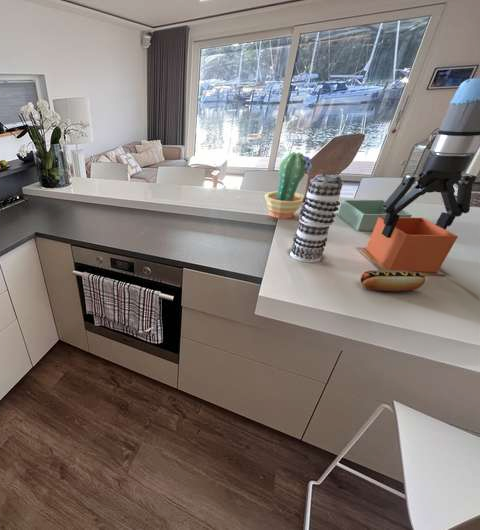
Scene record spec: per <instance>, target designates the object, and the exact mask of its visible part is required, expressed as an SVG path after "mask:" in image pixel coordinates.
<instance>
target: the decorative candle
mask: <svg viewBox="0 0 480 530" xmlns="http://www.w3.org/2000/svg"><path fill="white" fill-rule="evenodd" d="M309 182H310V183H309V187H308V190H307V192H306V194H303V195H304V198H303V200H302V202H304V203H303V204H302V205H301V206H300V211H299V214H301V215H299V218H298V221H299V225H298V228H297V231H296V232H295V234H294V237H293V242H292V244H291V248H290V253H289V255H290V257H291V258H293V259H294V260H296V261H298V262H299V261H300V262H304V263H312V264H313V263H318V262H320V261H321V260H322V257H323V254H324V252H325V247H326V245H327V242H328V233H329V229H330V227H331V226H332V225H333V223H334V222H335V219H334V218H335V217H336V214H335V213H334V212H338V211H339V207H338V206H341V201H339V200H340V197H341V191H342V189H343V185H345V184H346V183H345V181H343V180H342V177H341V176H339V175H337V174H331V173H322V174H317V175H316V176H314V177H313V178H312V179H310V180H309ZM305 199H306V200H305Z"/></svg>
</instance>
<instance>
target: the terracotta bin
mask: <svg viewBox="0 0 480 530" xmlns="http://www.w3.org/2000/svg"><path fill="white" fill-rule="evenodd" d="M384 220H385V217H379V218H378V220H377V223H376V225H375V227H374V230H373V231H371V232H372V233H371V235H370V237H369V240H368V242H367V244H366V248H365V249H366V251H367V252H368V253H369V254H370V255H372V256H373V257H374V258H375V259H376V260H377V261H378V262H379V263H381V264H382V265H383V266H384V267H385V268H386V269H387V270H408V271H414V272H419V273H437V272H438V270H439V271H440V269H441V267H442V265H443V264H444V262H445V260H446V258H447V257H448V255H449V253H450V252H451V250H452V248H453V246H454V244H455V243H456V241H457V239H458V237H459V236H458V235H457V234H455V233H452V232H450V231H449V230H447V229H446V230H445V229H443V228H441V227H439V226H438V225H436V223H434V222H432V221H430V220H428V219H426V218H425V217H411V218H405V217H399V219H398V221H397V223H396V226H395V228H394V230H393V232H392V234H391V236H390V238H387V237H385V236H384V235H383V234H382V231H383V229H384V227H385V224H384Z"/></svg>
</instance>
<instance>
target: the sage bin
mask: <svg viewBox="0 0 480 530" xmlns="http://www.w3.org/2000/svg"><path fill="white" fill-rule="evenodd" d="M386 201H387V199H386V200H385V199H342V201H341V203H340V207H339V209H338V212H337V215H338V217H340V218H341V219H342V220H344V221H345V222H346V223H347V224H349V225H350V226H351V227H353V229H355V230H356V231H358V232H361V231H362V232H364V231H365V232H366V231H367V232H373V230H374V227H375V225H376V223H377V220H378V218H379V217H386V215H387V213H386V212H384V211H383V210H381V209H380V208H381V206H382V205H383V204H384V203H385V202H386ZM398 215H400V217H405V218H412V217H413V215H412V213H409V212H408V211H405V209H403V210H401V211H400V212H399V213H398Z"/></svg>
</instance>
